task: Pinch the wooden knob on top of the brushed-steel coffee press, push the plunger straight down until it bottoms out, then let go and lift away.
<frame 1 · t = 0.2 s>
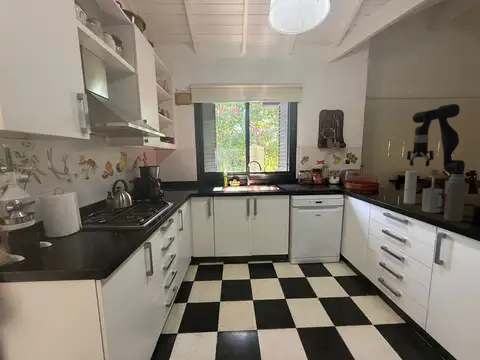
hand: (419, 166, 155), 30 cm above the countertop, tool pointing down, fingers open, 8 cm apart
thermos bottle: (452, 219, 134), on the countertop
press body: (430, 211, 154), on the countertop
plunger: (433, 183, 152), point 19 cm above the countertop, slide at 0.0 cm
cylindrical container: (409, 203, 179), on the countertop
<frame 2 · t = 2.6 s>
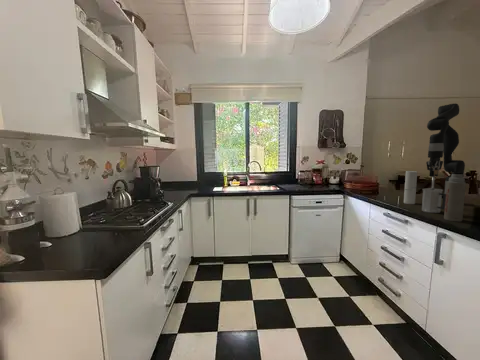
hand: (433, 176, 151), 24 cm above the countertop, tool pointing down, fingers closed on plunger, 3 cm apart
plunger: (433, 183, 152), point 19 cm above the countertop, slide at 0.0 cm, touching gripper
everything else where it was.
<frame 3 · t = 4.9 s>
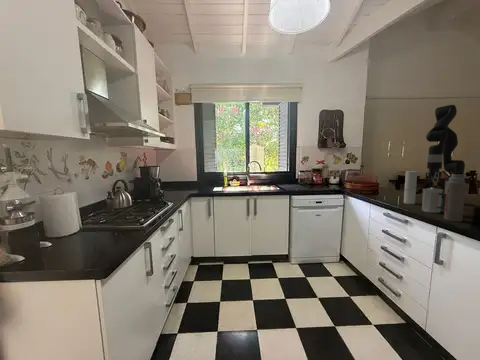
hand: (432, 187, 152), 16 cm above the countertop, tool pointing down, fingers closed on plunger, 3 cm apart
plunger: (432, 194, 152), point 12 cm above the countertop, slide at 7.3 cm, touching gripper
everything else where it was.
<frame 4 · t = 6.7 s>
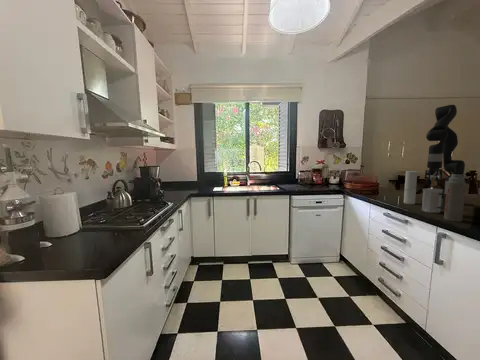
hand: (432, 185, 152), 18 cm above the countertop, tool pointing down, fingers open, 8 cm apart
plunger: (432, 194, 152), point 11 cm above the countertop, slide at 7.3 cm
everything else where it was.
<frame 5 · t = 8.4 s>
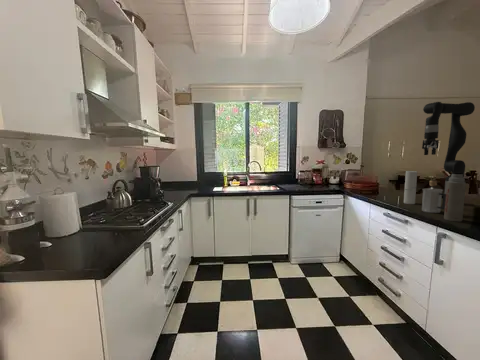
hand: (429, 154, 163), 38 cm above the countertop, tool pointing down, fingers open, 8 cm apart
nothing on the countertop moved.
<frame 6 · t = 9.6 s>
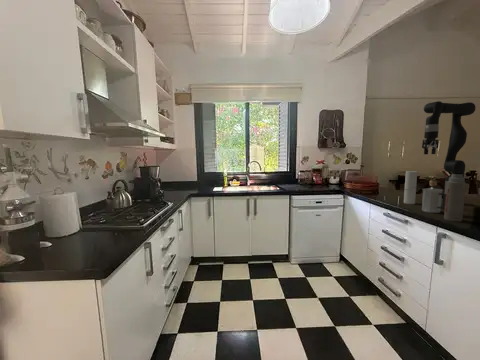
hand: (429, 154, 163), 38 cm above the countertop, tool pointing down, fingers open, 8 cm apart
nothing on the countertop moved.
at the end: plunger slide at 7.3 cm; the gripper is holding nothing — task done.
